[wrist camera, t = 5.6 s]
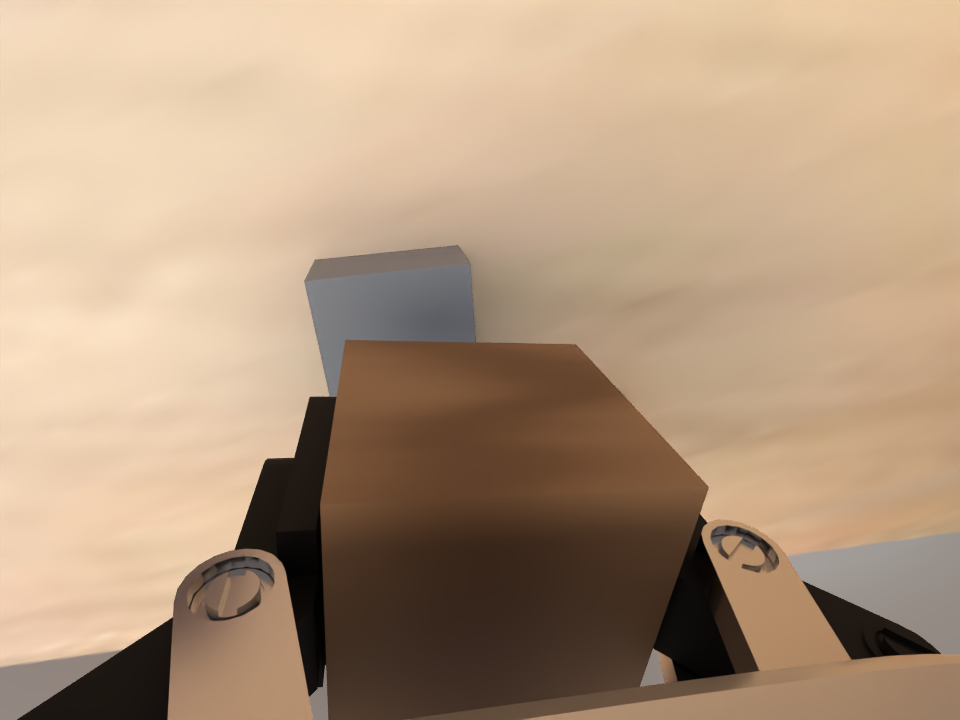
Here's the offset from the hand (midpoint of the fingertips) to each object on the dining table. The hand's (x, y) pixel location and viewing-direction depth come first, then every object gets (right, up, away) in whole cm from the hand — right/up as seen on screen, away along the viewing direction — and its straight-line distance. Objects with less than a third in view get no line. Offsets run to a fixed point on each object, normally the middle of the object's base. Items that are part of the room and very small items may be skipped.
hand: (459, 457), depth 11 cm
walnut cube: (0, 0, 0) cm, 1 cm away
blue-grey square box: (-4, +4, +15) cm, 16 cm away
